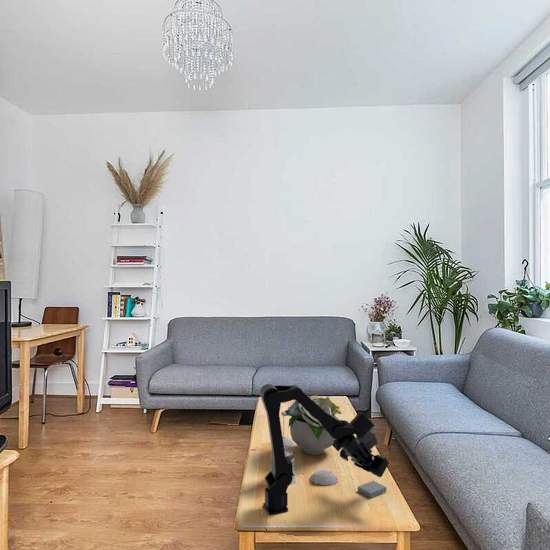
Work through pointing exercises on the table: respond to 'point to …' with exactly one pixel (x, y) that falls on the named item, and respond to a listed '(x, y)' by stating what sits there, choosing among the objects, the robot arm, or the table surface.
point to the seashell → (324, 477)
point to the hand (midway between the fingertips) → (375, 471)
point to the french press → (287, 443)
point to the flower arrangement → (311, 426)
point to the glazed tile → (371, 489)
